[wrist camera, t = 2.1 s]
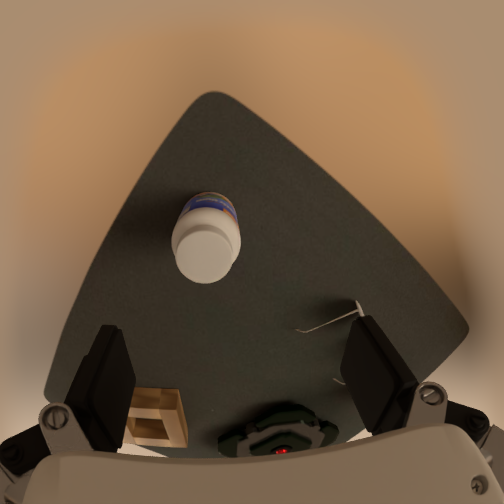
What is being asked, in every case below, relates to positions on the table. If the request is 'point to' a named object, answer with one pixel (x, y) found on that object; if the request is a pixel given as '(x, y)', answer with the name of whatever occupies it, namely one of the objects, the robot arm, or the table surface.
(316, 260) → the table surface
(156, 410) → the socket
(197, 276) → the pill bottle
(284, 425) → the dark green landmine
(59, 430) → the robot arm
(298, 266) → the table surface
